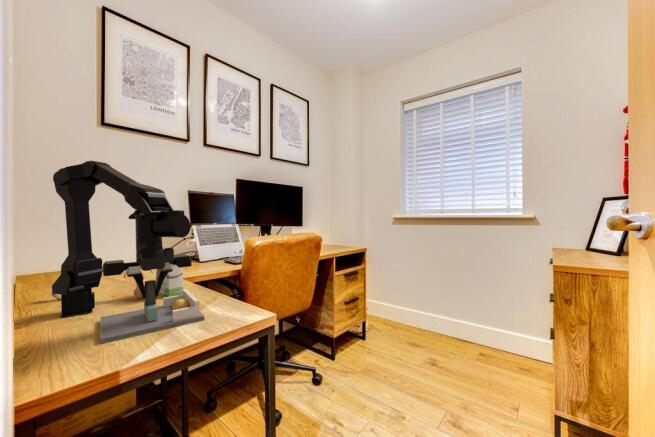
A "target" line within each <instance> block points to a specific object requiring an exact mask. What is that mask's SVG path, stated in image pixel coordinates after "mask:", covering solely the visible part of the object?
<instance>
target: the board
mask: <svg viewBox="0 0 655 437" xmlns="http://www.w3.org/2000/svg"><path fill="white" fill-rule="evenodd" d="M157 312H158V320H153V321H149V322H148V320H147V318H146V315H145V313H144V308H143V309H137V310H132V311H127V312H121V313H116V314H110V315H103V316H100V344H107V343H111V342H115V341H119V340H123V339H127V338H132V337H136V336H141V335H145V334H149V333H154V332H158V331H159V332H160V331H162V330H166V329H171V328H175V327H180V326H184V325H189V324H193V323H197V322H200V321H204V320H205V315H204V314H203V313H202V312H201V311H200V310H199V316H196V317H192V318H187V319H183V320H178V321H174V322H173V315H172V306H169V307H163V305H158V306H157Z"/></svg>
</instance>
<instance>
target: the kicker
mask: <svg viewBox="0 0 655 437" xmlns="http://www.w3.org/2000/svg"><path fill="white" fill-rule="evenodd" d="M144 286H145V299H144V301H143V309H144V313H145V315H146V318H147V320H148V322H149V321H153V320H158V312H157V307H158V306H157V305H156V304H157V297H156V279H152V280H151V279H150V280H145V281H144Z"/></svg>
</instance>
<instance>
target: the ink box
mask: <svg viewBox="0 0 655 437" xmlns="http://www.w3.org/2000/svg"><path fill="white" fill-rule="evenodd" d="M171 269H173V271H172V272H169V273H168V274H167V275H166V277H165V279H164V281H163V283H162V286H161V289H160V292H159V294H163V295H164V296H166V297H171V296H177V295H183V291H182V290H183V289H184V274H183V273H184V272H183V270H184V267H182V268H179V267H178V266H176V265H172V267H171Z"/></svg>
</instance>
